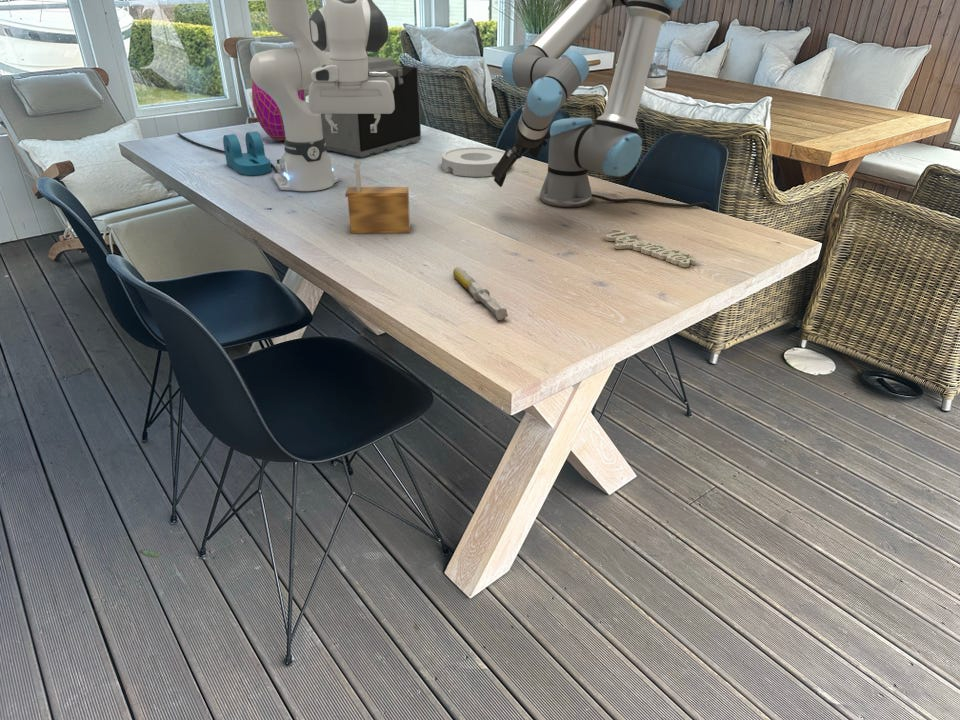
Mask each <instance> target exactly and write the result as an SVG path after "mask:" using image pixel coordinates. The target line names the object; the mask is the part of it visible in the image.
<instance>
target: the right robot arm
mask: <svg viewBox="0 0 960 720" xmlns="http://www.w3.org/2000/svg"><path fill="white" fill-rule="evenodd" d="M684 1H685V0H571V2H570V3H569V4H567V6H566V7H565V8H564V9H563V10H562V11H561V12H560V13H559V14H558V15H557V16H556V17H555V18H554V19H553V20H552V22H550V23H549V24H548V25H547V27H545V28H544V29H543V30H542V32H540V34H538V36H537V37H536V38H534V40H533V41H532V42H530V44H529V45H528V46H527V47H526V48H525V49H524V50H523V51H522V52H521V53H520V52H514V53H513V52H512V53H510V54H507V55H506V56H505V57H504V60H503V61H502V64H501V75H502V79H503V80H504V82H505V83H506V84H508V85H511V86H514V87H517V88H524V89H529V90H528V92H527V95H526V99H525V103H524V105H523V107H522V108H521V114H520V117H519V119H518V121H517V124H516V127H515V130H514V137H515V140H514V143H513V145H512V146H511V147H506V149H505V150H504V151H505V153H504V155H503V156H502V158H501V159H500V161H499V162H498V164H497V165H496V167H494V170H493V171H492V173H491V174H492V175H493V176H492V177H494V178H493V181H494V183H495V184H496V185H498V187H499V188H502V187H503V185H504V184H505V180H506V177H507V173H508V172H509V171H510V169H511V168H512V167H513V165H514V164H515V163H516V162H517V160H519V159H521V158H522V157H523V156H524V155H525V154H526V153H527V152H528V154H530V156H531V157H532V158H533V159H534V160H535V159H537V158H538V156H539V154H540V152H541V150H542V147H546V146H547V145H548V156H547V158H548V159H547V173H546V176H545V178H544V181H543V184H542V187H541V189H540V191H539V200H540V202H542V203H543V204H546V205H549V206H553V207H558V208H559V207H560V208H580V207H584V206H588V205H589V204H591V203H592V199H593V198H596V199H598V200H599V199H600V200H603V201H606V202H611V203H628V202H639V203H645V204H652V205H657V206H665V207H675V208H694V207H699V206H705V207H707V209H712V208H713V207H712V206H711V204H710V203H708V202H706V201H698V202H695V203H676V202H665V201H656V200H650V199H646V198H635V197H633V198H632V197H630V198H610V197H607V196H603V195H599V194H595V193H592V188H591V184H590V179H589V171H591V172H595V173H599V174H603V175H604V176H608V177H609V176H612V177H619V178H620V177H624V176H626V175H628V174H629V173H630V172H631V171H632V170H634V168H635V167H636V165H637V164H638V162H639V160H640V158H641V155H642V151H643V145H642V144H643V139H642V137H641V136H640V135H639V134H638V133H639V128H640V127H639V126H638V124H637V122H636V119H637V116H638V112H639V108H640V105H641V100H642V98H643V94H644V90H645V87H646V83H647V79H648V75H649V72H650V68H651V64H652V61H653V57H654V54H655V51H656V47H657V43H658V40H659V37H660V32H661V28H662V26H663V25H664V24H665V23H667V22H668V21H669V20H670V19H671V15H672V12H673V11H674V10H675V11H676V10H677V9H679V8H680V7H682V5H683V3H684ZM623 6H624V8H625V10H624V11H625V13H626V15H627V17H628V21H627V25H626V28H625V30H624V31H625V32H624V36H623V38H622V39H623V40H622V43H621V47H620V51H619V54H618V59H617V63H616V67H615V70H614V73H613V77H612V81H611V85H610V89H609V93H608V96H607V100H606V103H605V108H604V111H603V113H602V114H601V115H599V116H598V117H597V118H596V120H595V123H594V122H593V119H592V118H590V117H569V118H568V117H567V118H562V119H557V120H554V121H553V119H554V117H555V115H556V113H557V112H559V110H560V109H561V108H562V106H563V105H564V104H565V103H566V101H567V100H568V99H569V98H570V97H571V96H572V95H573V94H574V92H575V91H576V90H577V89H578V88H579V87H580V86H581V85H582V84H583V82H584V81H585V79H586V78H587V77H588V75H589V72H590V65H589V61H588V60H587V58H586V56H585V55H584V54H582V52H580V51H577V50H572V49H571V50H569V49H570V48H571V46H572V45H574V43H575V42H576V41H577V40H578V39H580V37H581V36H582V35H583V34H584V33H585V32H586V30H588V29H589V28H590V27H591V25H592V24H594V23H595V21H596V20H597V19H598V18H599V17H600V16H604V15H607V14H608V13H609V12H611V10H613V9H614V8H616V7H623ZM552 121H553V122H552ZM594 124H595V125H594ZM549 130H550V131H549ZM546 140H548V142H547V141H546ZM508 170H509V171H508Z"/></svg>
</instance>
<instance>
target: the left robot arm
mask: <svg viewBox="0 0 960 720" xmlns="http://www.w3.org/2000/svg"><path fill="white" fill-rule="evenodd" d="M264 1H265V6H266V12H267V18H268V23H269V25H270V26H271V28H272V29H273V30H274V31H275V32H277V33H279V34H280V35H283V36H285V37H287V38H288V39H289V40H290V41H291V42H292V44H293V46H294V47H293V48H277V49H268V50H267V49H266V50H263V51H260V52H256V53H254V55H253V56H252V58H251V60H250V63H249V73H250V77H251V80H252V79H253V81H254V83H255V84H256V85H257V86H258V87H259V88H260V89H261V90H263V91H264V92H266V93H267V94H268V95H269V96H270V97H271V98H272V99H273V100H274V101H275V103H276V104H277V106H278V107H279V110H280V112H281V115H282V119H283V124H284V130H285V136H286V139H285V141H284V144H283V146H284V153H283V154H282V156H281V157H280V158H278V159H276V164H275V165H274V164H273V163H271V168H272V169H273V171H274V173H276V174H273V180H274V181H275V183H276V185H277V187H278V188H279V190H281V191H294V192H295V191H296V192H316V191H322V190H327V189H329V188H331V187H333V186H334V185H335V183H337V182H339V181H340V180H339V177H338V176H335V173H334V168H333V167H334V166H333V163H332V161H333V160H332V157H331V154H329V153H328V152H327V150H326V142H325V138H324V137H323V130H322V120H321V114H325V119H326V120H327V122H328V123H329V124H330V126H331V132H332V133H338V124H334V122H333V121H332V119H331V117H332V114H374V118H377V119H376V121H375V123H374V124H371V125H370V129H371V130H370V131H371V133H377V124H378V122H379V120H380V117H381V114H391V113H392V112H393V111H394V110H395V103H394V95H393V91H394V89H395V80H394V77H393V76H392V75H391V74H388V72H369V71H368V57H369V56H368V53H377V52H379V51H380V50H381V49H382V48H383V47H384V46H385V44H386V43H387V41H388V38H389V25H388V21H387V18H386V16H385V14H384V13H383V11H382V10H381V9H380V8H379V7H378V5H377V4H375V2H374V1H373V0H325V4H324V5H323V6H322V7H320V8H316V9H315V10H314V11H313V13H312V14H311V15H310V13H309V8H308V3H307V2H308V1H307V0H264ZM388 75H389V76H391V77H388ZM379 76H381V77H379ZM299 90H304V91H306V90H308V102H307V101H306V102H305V101H303V100H301V99H300V98H299V96H298V91H299ZM176 133H177V135H178V136H179V137H180V138H181V139H183V140H185V141H187V142H190V143H191V144H194V145H196V146H200V147H203V148H204V149H205V148H206V149H209V150H212V151H216V152H220V153H224V154H225V150H224V149H219V148H216V147H211V146H210V145H209V146H208V145H206V144H202V143H199V142H196V141H194V140H192V139H189V138H188V137H186V136H185V135H182V134H181V133H180V132H176Z"/></svg>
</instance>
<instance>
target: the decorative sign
mask: <svg viewBox="0 0 960 720" xmlns="http://www.w3.org/2000/svg"><path fill="white" fill-rule="evenodd" d="M611 230H612V231H611V233H608V234H606V236H605V240H606V241H608V242H614V243H615V244H614V249H615V250H623V249H624V250H625V249H628V250H631V249H632V250H633V251H637V252H640V253H642V254H645V255H649V256H651V257H653V258H658V259H659V260H665V262H666V263H671V264H673V265H678V266H679V267H681V268H689V267H690V264H691V265H693V266H695V265H696V258H692V257H690V253H689V252H687V251H685V252H683V251H682V252H680V249H679V248H672V249H665V248H664V246H663V245H661V244H660V243H654V242H652V241H649V242H643V241H641V240H638V234H637V233H628V234H626V231H625V230H623V229H619V228H612V229H611Z"/></svg>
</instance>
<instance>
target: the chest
mask: <svg viewBox="0 0 960 720" xmlns="http://www.w3.org/2000/svg"><path fill="white" fill-rule="evenodd" d="M347 205H348V218H349V226H350V234H409V233H410V228H411V217H410V193H409V191H408V196H395V197H347Z"/></svg>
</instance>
